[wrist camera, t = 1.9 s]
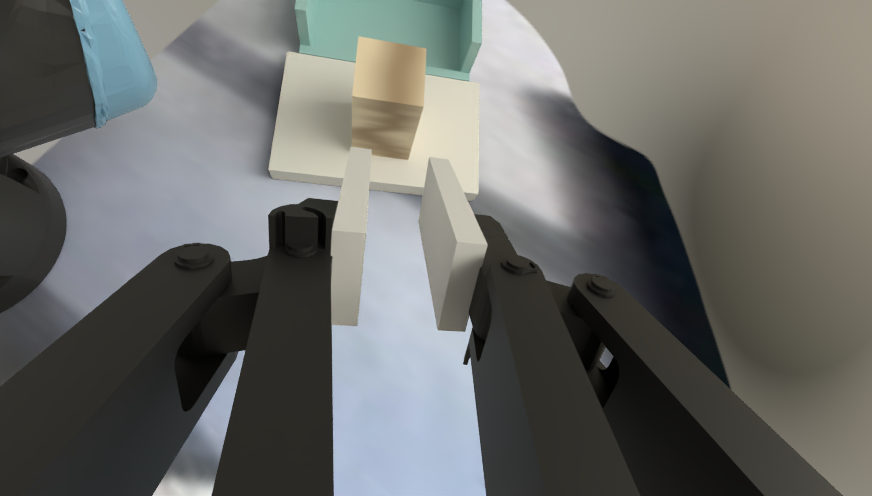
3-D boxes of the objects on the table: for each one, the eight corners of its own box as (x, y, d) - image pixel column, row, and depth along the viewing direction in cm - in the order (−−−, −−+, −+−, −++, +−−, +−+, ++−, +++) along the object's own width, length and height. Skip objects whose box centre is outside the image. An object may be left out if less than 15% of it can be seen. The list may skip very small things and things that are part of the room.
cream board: (272, 178, 39) (268, 169, 37) (290, 64, 43) (287, 51, 41) (472, 201, 43) (478, 193, 41) (474, 94, 46) (479, 83, 45)
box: (300, 62, 43) (293, 17, 37) (313, -23, 46) (308, -77, 41) (465, 89, 46) (481, 51, 41) (467, 7, 49) (482, -38, 44)
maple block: (351, 152, 39) (352, 95, 31) (356, 103, 41) (358, 36, 32) (408, 160, 40) (423, 106, 32) (411, 111, 42) (426, 48, 33)
